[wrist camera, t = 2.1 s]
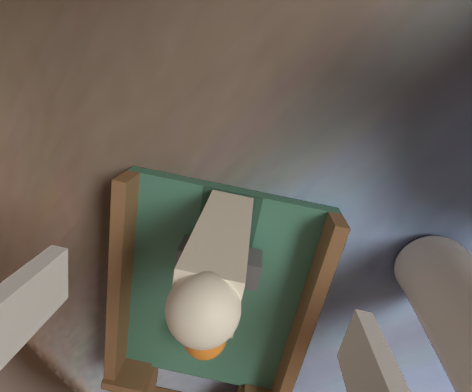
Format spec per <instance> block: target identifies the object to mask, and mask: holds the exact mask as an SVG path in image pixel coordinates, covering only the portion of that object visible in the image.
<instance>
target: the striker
mask: <svg viewBox="0 0 472 392" xmlns="http://www.w3.org/2000/svg"><path fill="white" fill-rule="evenodd" d="M253 201H254V198H251V197H246V196H241V195H236V194H231V193H226V192H221V191H217V190H212V192H211V194H210V196H209V198H208V200H207V203H206V205H205V207H204V209H203V211H202V213H201V215H200V217H199V219H198V221H197V223H196V225H195V227H194V229H193V231H192V233H191V235H187V234H185V236H184V238H183V240H182V242H181V243H180V245H179V247H178V249H177V254H176V262H175V269H174V275H173V283H172V289H171V290H170V292H169V294H168V297H167V300H166V305H165V318H166V322H167V326H168V328H169V330H170V332H171V334H172V335H173V336H174V338H175V339H176V340H177V341H178V342H180V343H181V344H182V345H184V346H186V347H188V348H191V349H195V350H209V349H213V348H216V347H218V346H220V345H222V344H223V343H224V342H226V341H227V340H228V339H229V338H233V334H234V332H235V330H236V328H237V326H238V324H239V321H240V317H241V300H242V296H243V292H244V289H247V290H252V291H256V290H257V286H258V282H259V278H260V274H261V270H262V250H259V249H254V248H250V247H249V242H250V231H251V221H252V211H253Z"/></svg>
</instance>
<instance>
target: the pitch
mask: <svg viewBox="0 0 472 392" xmlns="http://www.w3.org/2000/svg"><path fill="white" fill-rule="evenodd" d="M212 190H217V191H221V192H226V193H231V194H236V195H241V196H246V197H251V198H254V201H253V211H252V221H251V231H250V242H249V247H250V248H254V249H259V250H262V270H261V274H260V278H259V282H258V286H257V290H256V291H252V290H247V289H244V292H243V296H242V300H241V317H240V321H239V324H238V326H237V328H236V330H235V332H234V334H233V338H229V339H228V340H227V341H226V345H225V347H224V349H223V350H222V352H221V353H220V354H219V355H218V356H216V357H215V358H213V359H210V360H198V359H195V358H194V357H192V356H191V355H190V354H189V353H188V352H187V351H186V349H185V347H184V345H182V344H181V343H180V342H178V341H177V340H176V339H175V338H174V336H173V335H172V334H171V332H170V330H169V328H168V326H167V322H166V318H165V305H166V300H167V297H168V294H169V292H170V290H171V289H172V283H173V275H174V269H175V262H176V254H177V249H178V247H179V245H180V243H181V242H182V240H183V238H184V236H185V234H187V235H191V233H192V231H193V229H194V227H195V225H196V223H197V221H198V219H199V217H200V215H201V213H202V211H203V209H204V207H205V205H206V203H207V200H208V198H209V196H210V194H211V192H212ZM349 232H350V227H349V226H348V224H347V222H346V220H345V219H344V217H343V215H342V213H341V212H340V210H339V208H336V207H331V206H326V205H321V204H317V203H312V202H307V201H302V200H297V199H292V198H287V197H282V196H278V195H273V194H268V193H263V192H258V191H253V190H248V189H243V188H239V187H234V186H229V185H224V184H219V183H214V182H209V181H204V180H200V179H195V178H190V177H185V176H180V175H175V174H170V173H165V172H161V171H156V170H151V169H146V168H141V167H136V166H132V167H131V168H129V169H128V170H126V171H125V172H123V173H122V174H120V175H118V176H117V177H115V178H114V179H112V183H111V207H110V232H109V257H108V281H107V306H106V331H105V355H104V379H103V380H102V382H101V389H103V390H108V391H112V392H179V391H174V390H170V389H165V388H161V387H156V382H157V374H158V368H161V369H165V370H170V371H175V372H179V373H184V374H188V375H193V376H198V377H202V378H207V379H212V380H216V381H221V382H225V383H230V384H235V385H238V388H237V392H292V391H293V388H294V386H295V383H296V380H297V377H298V374H299V372H300V369H301V366H302V363H303V360H304V358H305V355H306V352H307V349H308V346H309V344H310V341H311V338H312V335H313V333H314V330H315V327H316V324H317V321H318V319H319V316H320V313H321V310H322V307H323V305H324V302H325V299H326V296H327V293H328V291H329V288H330V285H331V282H332V280H333V277H334V274H335V271H336V268H337V266H338V263H339V260H340V257H341V254H342V252H343V249H344V246H345V243H346V240H347V238H348V235H349Z"/></svg>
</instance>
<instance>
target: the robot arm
mask: <svg viewBox="0 0 472 392" xmlns="http://www.w3.org/2000/svg"><path fill="white" fill-rule="evenodd" d="M67 299H68V248H64V247H59V246H54V245H51V246H49V247H48V248H47V249H45V250H44V251H43V252H41V253H40V254H39V255H37V256H36V257H35V258H33V259H32V260H30V261H29V262H28V263H26V264H25V265H24V266H22V267H21V268H20V269H18V270H17V271H16V272H14V273H13V274H12V275H10V276H9V277H8V278H6V279H5V280H3V281H2V282H1V283H0V371H1V369H2V368H3V367H4V366H5V365H6V364H7V363H8V362H9V361H10V360H11V359H12V358H13V357H14V356H15V354H16V353H17V352H18V351H19V350H20V349H21V348H22V347H23V346H24V345H25V344H26V343H27V342H28V340H29V339H30V338H31V337H32V336H33V335H34V334H35V333H36V332H37V331H38V330H39V329H40V328H41V327H42V325H43V324H44V323H45V322H46V321H47V320H48V319H49V318H50V317H51V316H52V315H53V314H54V313H55V312H56V310H57V309H58V308H59V307H60V306H61V305H62V304H63V303H64V302H65V301H66V300H67ZM337 357H338V361H339V365H340V368H341V372H342V376H343V379H344V383H345V387H346V390H347V392H411V391H410V389H409V387H408V385H407V383H406V381H405V379H404V377H403V375H402V373H401V371H400V369H399V367H398V365H397V362H396V360H395V358H394V356H393V354H392V352H391V350H390V348H389V346H388V344H387V342H386V340H385V338H384V336H383V333H382V331H381V329H380V327H379V325H378V323H377V321H376V319H375V317H374V315H373V313H372V312H367V311H362V310H358V309H355V311H354V314H353V316H352V319H351V321H350V324H349V326H348V329H347V331H346V334H345V337H344V339H343V342H342V344H341V347H340V349H339V352H338V354H337Z"/></svg>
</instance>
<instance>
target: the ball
mask: <svg viewBox="0 0 472 392" xmlns="http://www.w3.org/2000/svg"><path fill="white" fill-rule="evenodd" d="M225 345H226V342H224V343H223V344H222V345H220V346H218V347H216V348H213V349H209V350H195V349H191V348H188V347H186V346H184V347H185V349H186V351H187V352H188V353H189V354H190V355H191V356H192V357H194V358H195V359H198V360H210V359H213V358H215V357H216V356H218V355H219V354H220V353H221V352H222V350H223V349H224V347H225Z"/></svg>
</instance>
